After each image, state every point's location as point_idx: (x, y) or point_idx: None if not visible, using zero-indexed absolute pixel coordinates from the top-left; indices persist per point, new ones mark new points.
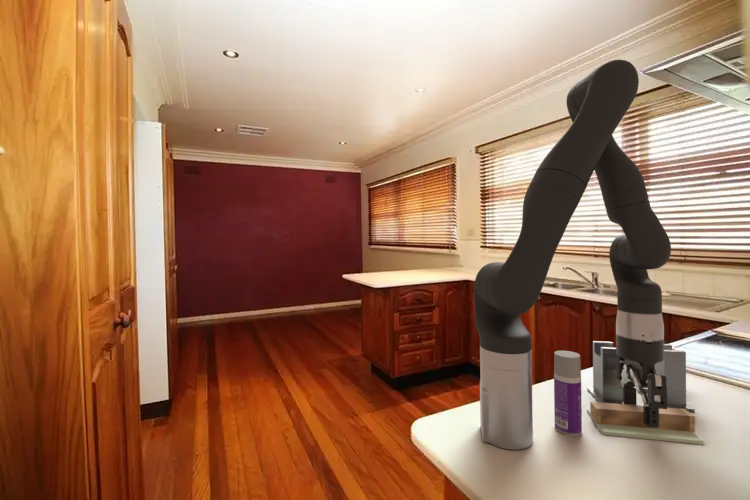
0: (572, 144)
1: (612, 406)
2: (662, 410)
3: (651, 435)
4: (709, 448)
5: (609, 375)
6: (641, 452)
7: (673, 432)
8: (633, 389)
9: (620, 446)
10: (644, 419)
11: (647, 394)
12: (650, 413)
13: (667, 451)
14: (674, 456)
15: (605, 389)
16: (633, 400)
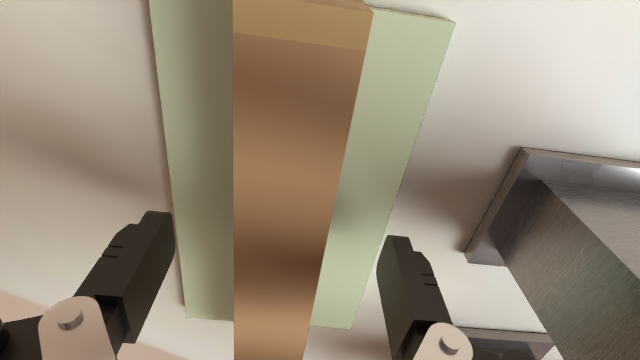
0: None
1: (290, 146)
2: (271, 330)
3: (176, 200)
4: (168, 307)
5: (630, 334)
6: (20, 86)
7: (228, 277)
8: (395, 346)
9: (34, 4)
10: (146, 229)
11: (527, 342)
12: (90, 279)
13: (88, 193)
14: (55, 196)
15: (573, 232)
16: (384, 285)
